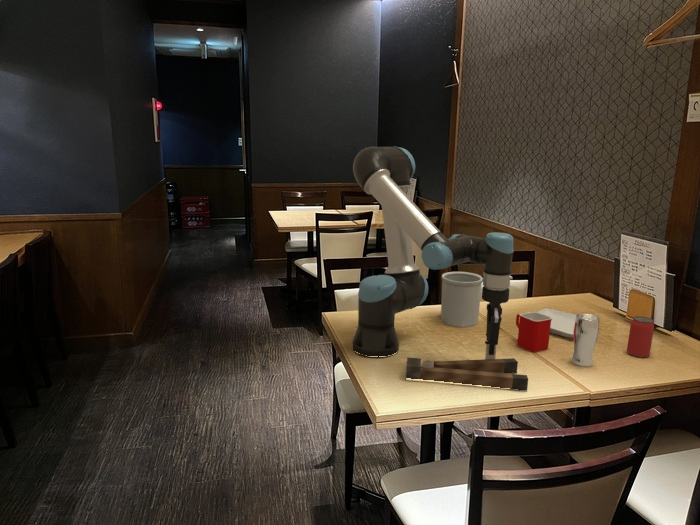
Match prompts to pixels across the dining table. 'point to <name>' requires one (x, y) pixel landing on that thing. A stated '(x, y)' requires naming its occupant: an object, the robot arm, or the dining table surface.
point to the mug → (533, 331)
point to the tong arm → (481, 365)
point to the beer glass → (585, 338)
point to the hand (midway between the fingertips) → (489, 363)
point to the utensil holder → (460, 298)
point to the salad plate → (560, 322)
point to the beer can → (640, 336)
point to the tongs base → (464, 375)
